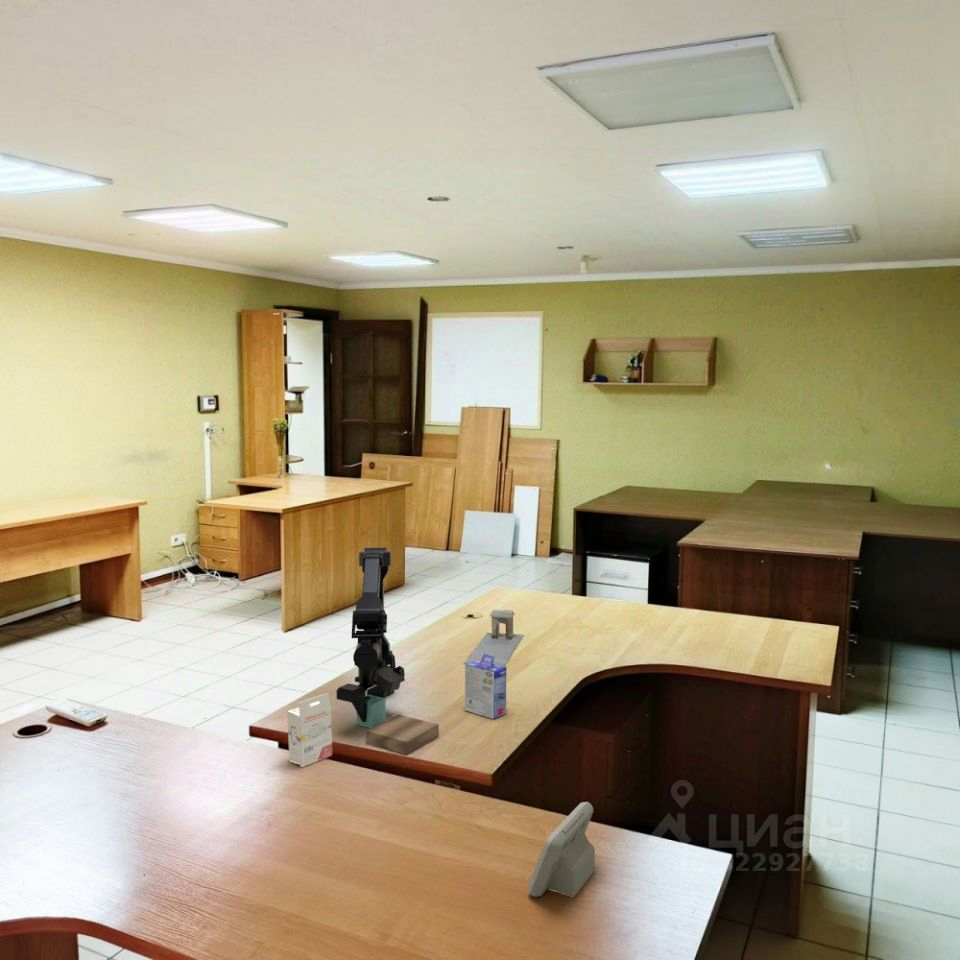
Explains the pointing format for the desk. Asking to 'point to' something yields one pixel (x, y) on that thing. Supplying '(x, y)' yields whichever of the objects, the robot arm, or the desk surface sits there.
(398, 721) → the walnut plinth
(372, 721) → the teal block
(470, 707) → the ink cartridge box
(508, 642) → the grey sheet with arch
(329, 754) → the ink cartridge box
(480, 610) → the desk surface
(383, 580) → the robot arm
